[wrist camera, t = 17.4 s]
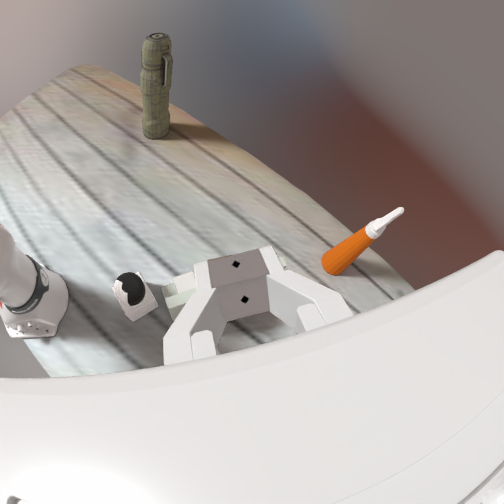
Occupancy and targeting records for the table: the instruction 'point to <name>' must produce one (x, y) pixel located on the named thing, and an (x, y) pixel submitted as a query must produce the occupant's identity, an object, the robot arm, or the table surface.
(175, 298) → the panel
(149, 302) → the medicine bottle
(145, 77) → the green thermos flask
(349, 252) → the spray bottle
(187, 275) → the button charcoal
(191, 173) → the table surface
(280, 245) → the table surface
